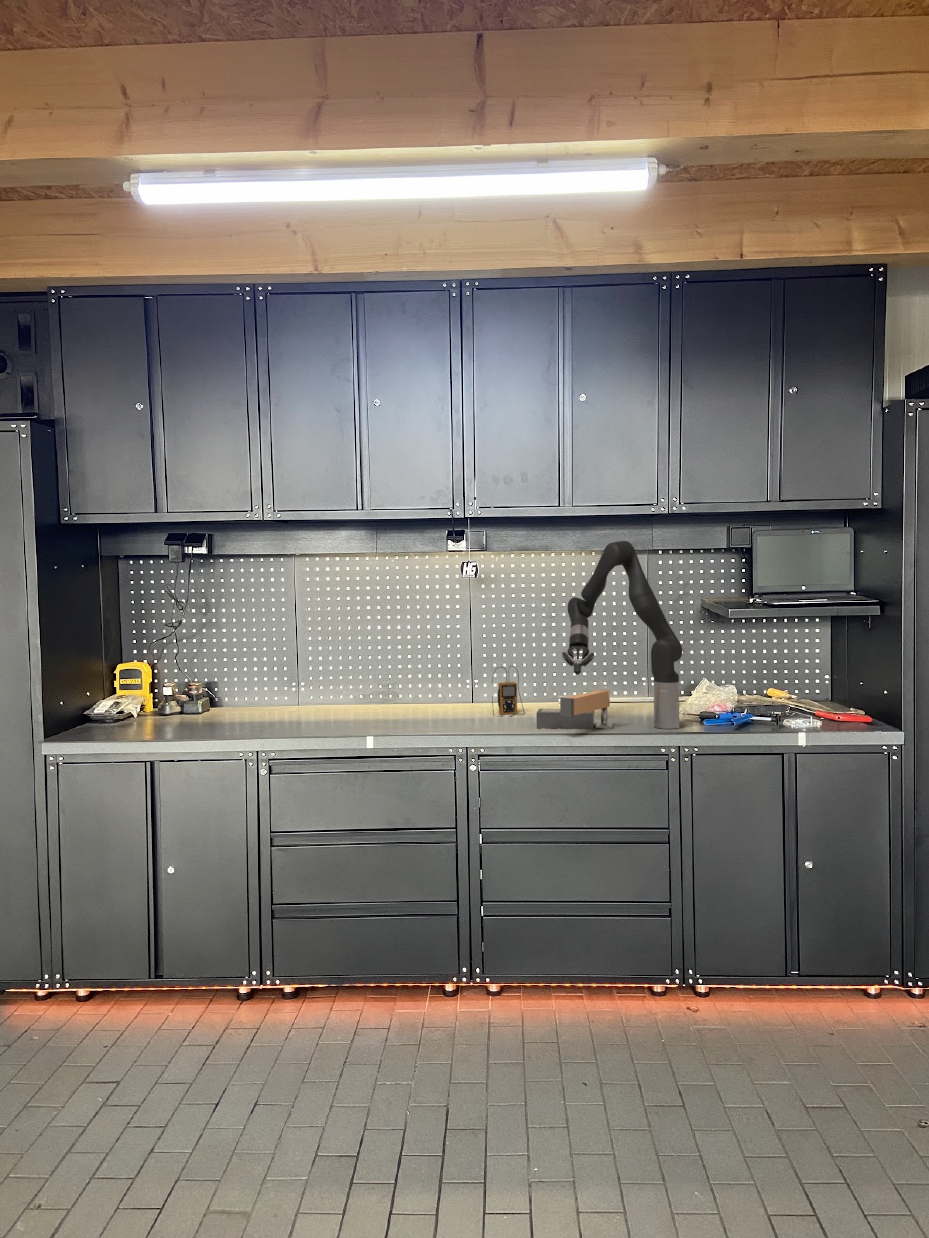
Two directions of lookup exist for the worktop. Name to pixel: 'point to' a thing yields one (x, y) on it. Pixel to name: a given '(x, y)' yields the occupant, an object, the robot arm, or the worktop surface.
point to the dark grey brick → (564, 720)
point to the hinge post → (604, 720)
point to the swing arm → (584, 703)
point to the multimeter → (507, 696)
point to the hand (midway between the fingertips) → (577, 673)
